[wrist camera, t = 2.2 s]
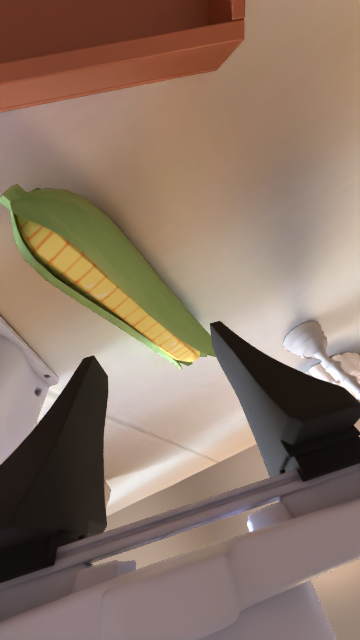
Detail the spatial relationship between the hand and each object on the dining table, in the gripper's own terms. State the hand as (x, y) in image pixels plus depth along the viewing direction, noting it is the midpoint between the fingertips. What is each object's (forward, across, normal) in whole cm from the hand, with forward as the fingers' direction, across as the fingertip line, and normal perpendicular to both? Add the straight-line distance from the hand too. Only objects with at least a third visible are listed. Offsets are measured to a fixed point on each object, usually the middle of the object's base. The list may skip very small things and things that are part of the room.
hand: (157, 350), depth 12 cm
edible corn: (+6, 0, 0) cm, 7 cm away
